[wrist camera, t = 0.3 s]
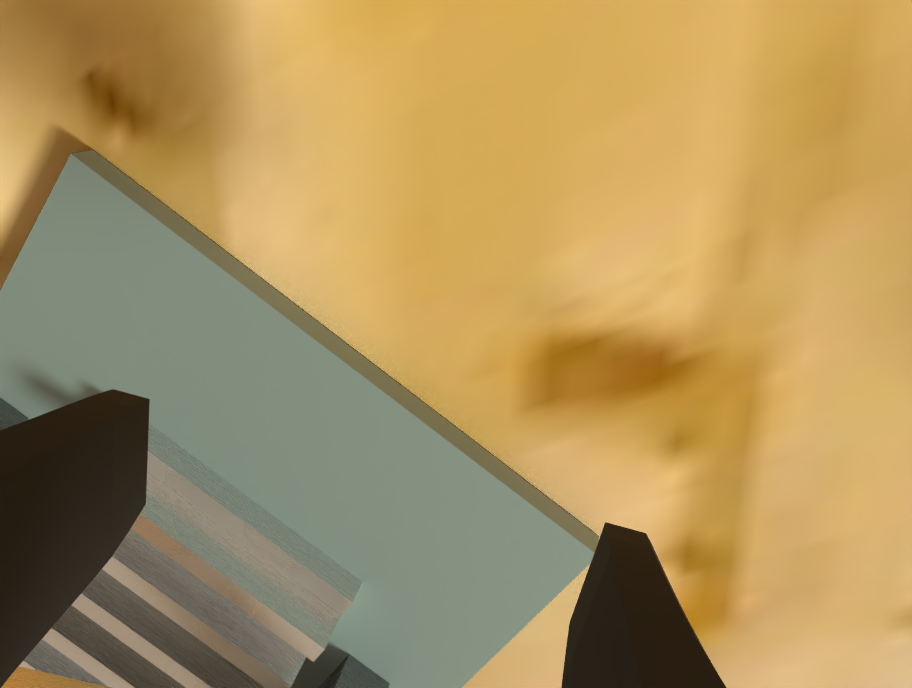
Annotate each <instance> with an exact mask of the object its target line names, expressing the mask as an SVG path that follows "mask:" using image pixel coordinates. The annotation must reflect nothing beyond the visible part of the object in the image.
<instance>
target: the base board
mask: <svg viewBox="0 0 912 688" xmlns="http://www.w3.org/2000/svg"><path fill="white" fill-rule="evenodd" d="M111 389H115V390H119V391H122V392H126V393H130V394H133V395H137V396H141V397H144V398H148V399H150V404H149V424H151V425H152V426H153V427H155V428H156V429H158V430H159V431H160V432H162V433H163V434H164V435H166V436H167V437H168V438H170V439H171V440H172V441H174V442H175V443H176V444H178V445H179V446H180V447H182V448H183V449H184V450H186V451H187V452H188V453H190V454H191V455H193V456H194V457H195V458H197V459H198V460H199V461H201V462H202V463H203V464H205V465H206V466H207V467H209V468H210V469H211V470H213V471H214V472H215V473H217V474H218V475H219V476H221V477H222V478H223V479H225V480H226V481H228V482H229V483H230V484H232V485H233V486H234V487H236V488H237V489H238V490H240V491H241V492H242V493H244V494H245V495H246V496H248V497H249V498H250V499H252V500H253V501H254V502H256V503H257V504H258V505H260V506H261V507H263V508H264V509H265V510H267V511H268V512H269V513H271V514H272V515H273V516H275V517H276V518H277V519H279V520H280V521H281V522H283V523H284V524H285V525H287V526H288V527H289V528H291V529H292V530H293V531H295V532H296V533H298V534H299V535H300V536H302V537H303V538H304V539H306V540H307V541H308V542H310V543H311V544H312V545H314V546H315V547H316V548H318V549H319V550H320V551H322V552H323V553H324V554H326V555H327V556H329V557H330V558H331V559H333V560H334V561H335V562H337V563H338V564H339V565H341V566H342V567H343V568H345V569H346V570H347V571H349V572H350V573H351V574H353V575H354V576H355V577H357V578H358V579H359V580H361V581H362V584H361V586H360V588H359V590H358V592H357V594H356V596H355V599H354V601H353V603H352V604H351V605H350V606H349V607H348V608H347V609H346V610H345V612H344V613H343V614H342V615H341V617H340V619H339V621H338V623H337V625H336V627H335V629H334V632H333V634H332V636H331V638H330V640H329V642H328V644H327V646H326V648H325V650H324V651H323V652H322V653H321V654H320V655H319V656H318V657H317V659H316V660H315V661H314V662H313V661H311V660H310V659H309V658H307V657H306V659H305V661H304V663H303V665H302V667H301V668H300V670H299V672H298V674H297V676H296V678H295V680H294V682H293V684H292V686H291V687H290V688H318V687H319V686H320V685H321V684H322V683H323V682H324V681H325V680H326V679H327V678H328V677H329V675H330V674H331V673H332V672H333V671H334V670H335V669H336V668H337V667H338V666H339V665H340V664H341V662H342V661H343V660H344V659H345V658H346V657H347V656H348V655H349V654H350V655H352V656H353V657H355V658H356V659H357V660H359V661H360V662H361V663H363V664H364V665H365V666H367V667H368V668H369V669H371V670H372V671H374V672H375V673H376V674H378V675H379V676H380V677H382V678H383V679H384V680H386V681H387V682H389V683H390V685H389V688H462V687H463V686H464V685H465V684H466V683H467V682H468V681H469V680H470V679H471V678H472V677H473V676H474V675H475V674H476V673H477V672H478V671H479V670H480V669H481V668H482V667H483V666H484V665H485V664H486V663H487V662H489V661H490V660H491V659H492V658H493V657H494V656H495V655H496V654H497V653H498V652H499V651H500V650H501V649H502V648H503V647H504V646H505V645H506V644H507V643H508V642H509V641H510V640H511V639H512V638H513V637H514V636H515V635H516V634H517V633H519V632H520V631H521V630H522V629H523V628H524V627H525V626H526V625H527V624H528V623H529V622H530V621H531V620H532V619H533V618H534V617H535V616H536V615H537V614H538V613H539V612H540V611H541V610H542V609H543V608H544V607H545V606H546V605H547V604H549V603H550V602H551V601H552V600H553V599H554V598H555V597H556V596H557V595H558V594H559V593H560V592H561V591H562V590H563V589H564V588H565V587H566V586H567V585H568V584H569V583H570V582H571V581H572V580H573V579H574V578H575V577H576V576H577V575H579V574H580V573H581V572H582V571H583V570H584V569H585V568H586V567H587V566H588V565H589V564H590V563H591V561H592V559H593V556H594V553H595V550H596V547H597V545H598V539H599V536H598V535H596V534H595V533H594V532H592V531H591V530H590V529H589V528H587V527H586V526H585V525H583V524H582V523H581V522H579V521H578V520H577V519H575V518H574V517H573V516H571V515H570V514H569V513H568V512H566V511H565V510H564V509H562V508H561V507H560V506H558V505H557V504H556V503H554V502H553V501H552V500H551V499H549V498H548V497H547V496H545V495H544V494H543V493H541V492H540V491H539V490H537V489H536V488H535V487H534V486H532V485H531V484H530V483H528V482H527V481H526V480H524V479H523V478H522V477H520V476H519V475H518V474H517V473H515V472H514V471H513V470H511V469H510V468H509V467H507V466H506V465H505V464H503V463H502V462H501V461H500V460H498V459H497V458H496V457H494V456H493V455H492V454H490V453H489V452H488V451H486V450H485V449H484V448H483V447H481V446H480V445H479V444H477V443H476V442H475V441H473V440H472V439H471V438H469V437H468V436H467V435H466V434H464V433H463V432H462V431H460V430H459V429H458V428H456V427H455V426H454V425H452V424H451V423H450V422H449V421H447V420H446V419H445V418H443V417H442V416H441V415H439V414H438V413H437V412H435V411H434V410H433V409H432V408H430V407H429V406H428V405H426V404H425V403H424V402H422V401H421V400H420V399H418V398H417V397H416V396H415V395H413V394H412V393H411V392H409V391H408V390H407V389H405V388H404V387H403V386H401V385H400V384H399V383H397V382H396V381H395V380H394V379H392V378H391V377H390V376H388V375H387V374H386V373H384V372H383V371H382V370H380V369H379V368H378V367H377V366H375V365H374V364H373V363H371V362H370V361H369V360H367V359H366V358H365V357H363V356H362V355H361V354H360V353H358V352H357V351H356V350H354V349H353V348H352V347H350V346H349V345H348V344H346V343H345V342H344V341H343V340H341V339H340V338H339V337H337V336H336V335H335V334H333V333H332V332H331V331H329V330H328V329H327V328H326V327H324V326H323V325H322V324H320V323H319V322H318V321H316V320H315V319H314V318H312V317H311V316H310V315H309V314H307V313H306V312H305V311H303V310H302V309H301V308H299V307H298V306H297V305H295V304H294V303H293V302H292V301H290V300H289V299H288V298H286V297H285V296H284V295H282V294H281V293H280V292H278V291H277V290H276V289H275V288H273V287H272V286H271V285H269V284H268V283H267V282H265V281H264V280H263V279H261V278H260V277H259V276H258V275H256V274H255V273H254V272H252V271H251V270H250V269H248V268H247V267H246V266H244V265H243V264H242V263H241V262H239V261H238V260H237V259H235V258H234V257H233V256H231V255H230V254H229V253H227V252H226V251H225V250H223V249H222V248H221V247H220V246H218V245H217V244H216V243H214V242H213V241H212V240H210V239H209V238H208V237H206V236H205V235H204V234H203V233H201V232H200V231H199V230H197V229H196V228H195V227H193V226H192V225H191V224H189V223H188V222H187V221H186V220H184V219H183V218H182V217H180V216H179V215H178V214H176V213H175V212H174V211H172V210H171V209H170V208H169V207H167V206H166V205H165V204H163V203H162V202H161V201H159V200H158V199H157V198H155V197H154V196H153V195H152V194H150V193H149V192H148V191H146V190H145V189H144V188H142V187H141V186H140V185H138V184H137V183H136V182H135V181H133V180H132V179H131V178H129V177H128V176H127V175H125V174H124V173H123V172H121V171H120V170H119V169H118V168H116V167H115V166H114V165H112V164H111V163H110V162H108V161H107V160H106V159H104V158H103V157H102V156H101V155H99V154H98V153H97V152H95V151H94V150H88V151H83V152H77V153H71V154H70V156H69V158H68V160H67V162H66V164H65V166H64V168H63V170H62V171H61V173H60V175H59V177H58V179H57V181H56V183H55V185H54V187H53V189H52V191H51V193H50V195H49V197H48V199H47V201H46V203H45V205H44V206H43V208H42V210H41V212H40V214H39V216H38V218H37V220H36V222H35V224H34V226H33V228H32V230H31V232H30V234H29V236H28V238H27V240H26V241H25V243H24V245H23V247H22V249H21V251H20V253H19V255H18V257H17V259H16V261H15V263H14V265H13V267H12V269H11V271H10V273H9V275H8V276H7V278H6V280H5V282H4V284H3V286H2V288H1V290H0V397H1V398H2V399H3V400H5V401H6V402H7V403H9V404H10V405H12V406H13V407H14V408H16V409H17V410H18V411H20V412H21V413H22V414H24V415H25V416H27V417H28V420H29V419H32V418H35V417H37V416H40V415H42V414H45V413H48V412H50V411H53V410H55V409H58V408H60V407H63V406H66V405H68V404H71V403H74V402H76V401H79V400H82V399H84V398H87V397H90V396H93V395H96V394H98V393H102V392H105V391H108V390H111Z"/></svg>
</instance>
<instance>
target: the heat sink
mask: <svg viewBox="0 0 912 688" xmlns="http://www.w3.org/2000/svg"><path fill="white" fill-rule="evenodd" d="M27 420H28V417H27V416H25V415H24V414H22V413H21V412H20V411H18V410H17V409H16V408H14V407H13V406H12V405H10V404H9V403H7V402H6V401H5V400H3V399H2V398H1V397H0V430H3V429H5V428H8V427H11V426H13V425H16V424H19V423H21V422H24V421H27ZM361 584H362V581H361V580H359V579H358V578H357V577H355V576H354V575H353V574H351V573H350V572H349V571H347V570H346V569H345V568H343V567H342V566H341V565H339V564H338V563H337V562H335V561H334V560H333V559H331V558H330V557H329V556H327V555H326V554H324V553H323V552H322V551H320V550H319V549H318V548H316V547H315V546H314V545H312V544H311V543H310V542H308V541H307V540H306V539H304V538H303V537H302V536H300V535H299V534H298V533H296V532H295V531H293V530H292V529H291V528H289V527H288V526H287V525H285V524H284V523H283V522H281V521H280V520H279V519H277V518H276V517H275V516H273V515H272V514H271V513H269V512H268V511H267V510H265V509H264V508H263V507H261V506H260V505H258V504H257V503H256V502H254V501H253V500H252V499H250V498H249V497H248V496H246V495H245V494H244V493H242V492H241V491H240V490H238V489H237V488H236V487H234V486H233V485H232V484H230V483H229V482H228V481H226V480H225V479H223V478H222V477H221V476H219V475H218V474H217V473H215V472H214V471H213V470H211V469H210V468H209V467H207V466H206V465H205V464H203V463H202V462H201V461H199V460H198V459H197V458H195V457H194V456H193V455H191V454H190V453H188V452H187V451H186V450H184V449H183V448H182V447H180V446H179V445H178V444H176V443H175V442H174V441H172V440H171V439H170V438H168V437H167V436H166V435H164V434H163V433H162V432H160V431H159V430H158V429H156V428H155V427H153V426H152V425H151V424H149V432H148V460H147V488H146V505H145V506H144V508H143V509H142V511H141V513H140V514H139V516H138V517H137V519H136V521H135V522H134V524H133V525H132V527H131V529H130V530H129V532H128V533H127V535H126V536H125V538H124V539H123V541H122V542H121V544H120V545H119V547H118V548H117V550H116V551H115V553H114V554H113V556H112V557H111V559H110V560H109V561H108V562H107V563H106V565H105V566H104V567H103V568H102V569H101V571H100V572H99V573H98V574H97V575H96V577H95V578H94V579H93V580H92V581H91V582H90V584H89V585H88V586H87V587H86V588H85V590H84V591H83V592H82V593H81V594H80V595H79V597H78V598H77V599H76V600H75V601H74V602H73V604H72V605H71V606H70V607H69V608H68V609H67V611H66V612H65V613H64V614H63V615H62V616H61V617H60V619H59V620H58V621H57V622H56V623H55V624H54V626H53V627H52V628H51V629H50V630H49V631H48V633H47V634H46V635H45V636H44V637H43V638H42V640H41V641H40V642H39V643H38V644H37V645H36V646H35V648H34V649H33V650H32V651H31V652H30V653H29V655H28V656H27V657H26V658H25V659H24V660H23V662H22V663H21V664H20V665H19V666H20V667H24V668H28V669H33V670H37V671H41V672H46V673H50V674H54V675H59V676H63V677H67V678H72V679H76V680H80V681H85V682H89V683H93V684H98V685H102V686H106V687H111V688H290V687H291V686H292V684H293V682H294V680H295V678H296V676H297V674H298V672H299V670H300V668H301V667H302V665H303V663H304V661H305V659H306V657H307V658H309V659H310V660H311V661H313V662H314V661H315V660H316V659H317V657H318V656H319V655H320V654H321V653H322V652H323V651H324V650H325V648H326V646H327V644H328V642H329V640H330V638H331V636H332V634H333V632H334V629H335V627H336V625H337V623H338V621H339V619H340V617H341V615H342V614H343V613H344V612H345V610H346V609H347V608H348V607H349V606H350V605H351V604H352V603H353V601H354V599H355V596H356V594H357V592H358V590H359V588H360V586H361ZM389 685H390V683H389V682H387V681H386V680H384V679H383V678H382V677H380V676H379V675H378V674H376V673H375V672H374V671H372V670H371V669H369V668H368V667H367V666H365V665H364V664H363V663H361V662H360V661H359V660H357V659H356V658H355V657H353V656H352V655H350V654H349V655H348V656H347V657H346V658H345V659H344V660H343V661H342V662H341V664H340V665H339V666H338V667H337V668H336V669H335V670H334V671H333V672H332V673H331V674H330V675H329V677H328V678H327V679H326V680H325V681H324V682H323V683H322V684H321V685H320V686H319V687H318V688H389Z"/></svg>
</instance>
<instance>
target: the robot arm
mask: <svg viewBox="0 0 912 688" xmlns="http://www.w3.org/2000/svg"><path fill="white" fill-rule="evenodd" d="M149 404H150V399H148V398H144V397H141V396H137V395H133V394H130V393H126V392H122V391H119V390H115V389H111V390H108V391H105V392H102V393H98V394H96V395H93V396H90V397H87V398H84V399H82V400H79V401H76V402H74V403H71V404H68V405H66V406H63V407H60V408H58V409H55V410H53V411H50V412H48V413H45V414H42V415H40V416H37V417H35V418H32V419H29V420H27V421H24V422H21V423H19V424H16V425H13V426H11V427H8V428H5V429H3V430H0V688H1V687H2V686H3V685H4V683H5V682H6V681H7V680H8V678H9V677H10V676H11V675H12V673H13V672H14V671H15V670H16V669H17V667H18V666H19V665H20V664H21V663H22V662H23V660H24V659H25V658H26V657H27V656H28V655H29V653H30V652H31V651H32V650H33V649H34V648H35V646H36V645H37V644H38V643H39V642H40V641H41V640H42V638H43V637H44V636H45V635H46V634H47V633H48V631H49V630H50V629H51V628H52V627H53V626H54V624H55V623H56V622H57V621H58V620H59V619H60V617H61V616H62V615H63V614H64V613H65V612H66V611H67V609H68V608H69V607H70V606H71V605H72V604H73V602H74V601H75V600H76V599H77V598H78V597H79V595H80V594H81V593H82V592H83V591H84V590H85V588H86V587H87V586H88V585H89V584H90V582H91V581H92V580H93V579H94V578H95V577H96V575H97V574H98V573H99V572H100V571H101V569H102V568H103V567H104V566H105V565H106V563H107V562H108V561H109V560H110V559H111V557H112V556H113V554H114V553H115V551H116V550H117V548H118V547H119V545H120V544H121V542H122V541H123V539H124V538H125V536H126V535H127V533H128V532H129V530H130V529H131V527H132V525H133V524H134V522H135V521H136V519H137V517H138V516H139V514H140V513H141V511H142V509H143V508H144V506H145V505H146V488H147V460H148V432H149ZM562 688H726V686H725V685H724V683H723V681H722V680H721V678H720V677H719V675H718V673H717V672H716V670H715V668H714V666H713V665H712V663H711V661H710V659H709V658H708V656H707V654H706V652H705V651H704V649H703V647H702V645H701V643H700V641H699V639H698V638H697V636H696V634H695V632H694V630H693V628H692V626H691V625H690V623H689V621H688V619H687V617H686V615H685V613H684V611H683V609H682V607H681V605H680V603H679V601H678V599H677V597H676V595H675V593H674V591H673V589H672V587H671V585H670V583H669V581H668V578H667V576H666V574H665V572H664V570H663V568H662V566H661V563H660V561H659V559H658V557H657V555H656V553H655V550H654V548H653V546H652V544H651V542H650V540H649V538H648V536H647V535H646V533H643V532H639V531H635V530H632V529H628V528H624V527H621V526H617V525H613V524H610V523H606V522H605V525H604V528H603V531H602V533H601V536H600V539H599V542H598V545H597V547H596V550H595V553H594V556H593V559H592V561H591V564H590V567H589V570H588V573H587V575H586V578H585V581H584V584H583V587H582V590H581V592H580V595H579V598H578V601H577V604H576V606H575V609H574V612H573V615H572V618H571V620H570V624H569V632H568V639H567V647H566V655H565V663H564V672H563V680H562Z"/></svg>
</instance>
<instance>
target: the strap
mask: <svg viewBox="0 0 912 688" xmlns="http://www.w3.org/2000/svg"><path fill="white" fill-rule="evenodd" d="M1 688H111V687H106V686H102V685H98V684H93V683H89V682H85V681H80V680H76V679H72V678H67V677H63V676H59V675H54V674H50V673H46V672H41V671H37V670H33V669H28V668H24V667H20V666H18V667H17V669H16V670H15V671H14V672H13V673H12V675H11V676H10V677H9V678H8V680H7V681H6V682H5V683H4V685H3V686H2V687H1Z"/></svg>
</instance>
